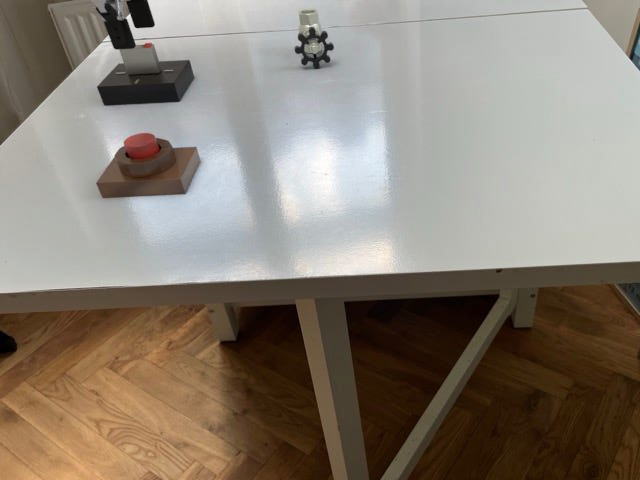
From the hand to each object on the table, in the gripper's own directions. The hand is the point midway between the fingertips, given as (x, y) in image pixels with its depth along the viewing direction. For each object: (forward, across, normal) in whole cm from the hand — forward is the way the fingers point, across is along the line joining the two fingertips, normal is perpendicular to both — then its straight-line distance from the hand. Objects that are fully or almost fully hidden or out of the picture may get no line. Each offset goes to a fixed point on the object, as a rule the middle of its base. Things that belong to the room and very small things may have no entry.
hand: (135, 37), depth 85 cm
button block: (+8, +29, +9) cm, 32 cm away
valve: (+9, -12, +26) cm, 30 cm away
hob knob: (+5, 0, 0) cm, 5 cm away
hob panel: (+8, 0, 0) cm, 8 cm away
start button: (+5, +29, +9) cm, 31 cm away
